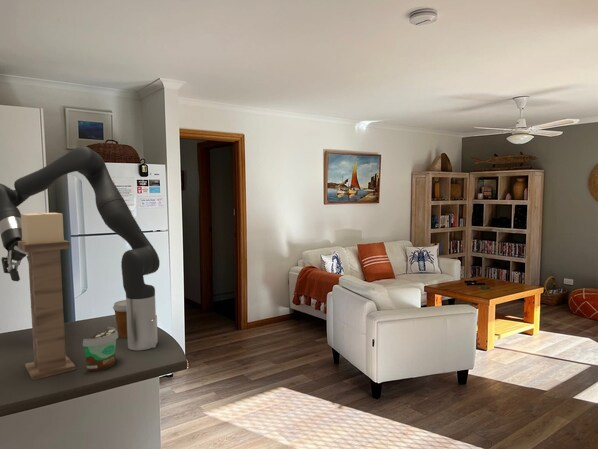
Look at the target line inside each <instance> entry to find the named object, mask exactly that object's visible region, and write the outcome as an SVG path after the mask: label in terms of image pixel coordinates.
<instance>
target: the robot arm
mask: <svg viewBox="0 0 598 449" xmlns="http://www.w3.org/2000/svg"><path fill="white" fill-rule="evenodd" d="M75 172H77V173H79V174H81V175H82V176H83V177H84V178H86V180H87V181H88V183H89V184H90V186H91V187H92V189H93V193H94V196H95V199H94V200H95V205H96V209H97V211H98V213H99V215H100V217H101V219H102V220H103V223H104V224H105V225H106V226H107V227H108V228H109V229H110V230H111V231H112V232H114V233H115V234H117V236H119V237H120V238H122V239H123V240H124V241H126V242H127V243H128V245H129V246H130V248H131V249H128V250H126V251H125V252H124V253H123V254H122V255H121V256H122V258H121V260H120V261H121V262H120V263H121V266H120V267H121V276H122V287H123V290H124V293H125V300H126V310H127V336H128V337H127V348H128V349H129V350H130V351H145V350H149V349H155V348H157V344H158V342H159V340H158V315H157V314H156V311H157V310H156V307H157V306H156V287H155V286H153V285H151V284H147V283H145V280H144V278H145V277H144V276H147V275H150V274H151V275H152V274H154V273H156V272H157V271H158V270H159V268H160V263H161V262H160V257H159V255H158V253H157V251H156V249H155V248H154V246H153V245H152V243H151V242H150V241H149V239H148V237H147V236H146V235H145V234H144V232H143V230H142V229H141V227H140V226H139V224H138V222H137V221H136V218H135V217H134V216H133V214H132V211H131V210H130V208H129V206H128V204H127V202H126V201H125V199H124V197H123V196H122V194H121V192H120V191H119V189H118V188H117V186H116V184H115V182H114V181H113V179H112V177H111V174H110V172H109V170H108V167H107V165H106V163H105V161H104V158H103V157H102V155H100V154H99V153H97V152H96V151H94V150H93V149H91V148H90V147H88V146H85V145H84V146H83V145H82V146H80V145H79V146H78V147H75V148H73V149H72V150H70V151H68V152H66V153H65V154H63V155H62V156H60V157H58V158H57V159H56V160H54V161H53V162H52V161H51V163H49V164H47V165H45V166H44V167H41V169H38V170H36V171H34V172H32V173H29V174H27V175H25V176H24V175H23V176H22V177H19V178H18V179H16V180H15V181H14V183H13V187H14V189H11V187H9V186H7V185H5V184H2V183H0V238H1V243H2V246H3V248H4V249H5V250H6V252H7V255H6V256H5V257H4V256H2V257H1V259H0V260H1V264H2V270H3V273H4V274H8V275H10V278H11V281H13V282H19V281H20V280H21V278H20V275H19V270H18V269H19V266H20V265H21V262H22V260H23V259H24V258H25V257H26V259H27V261H28V252H24V251H22V250H21V249H19V248H18V241H22V227H21V214H22V213H21V211H20V209H19V208H18V207H19V206H21V204H23V203H24V202H25V201H27V200H28V199H29V198H30V197H32V196H35V195H37V194H39V193H41V192H42V193H43V192H44V191H46V190H47V189H49V188H51V187H52V185H53V184H54V183H55V182H56V181H57V180H58V179H60V178H61V177H63V176H65V175H68V174H70V173H71V174H72V173H75ZM14 261H15V262H14ZM13 266H14V267H13Z"/></svg>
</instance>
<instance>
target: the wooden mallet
mask: <svg viewBox="0 0 598 449" xmlns="http://www.w3.org/2000/svg"><path fill="white" fill-rule="evenodd" d="M63 215H64V214H63V213H60V212H59V213H58V212H36V213H34V212H33V213H21V227H22V241H23V242H25V243H27V244H36V243H49V242H62V241H64V240H65V237H64V219H63Z"/></svg>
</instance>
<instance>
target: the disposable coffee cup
mask: <svg viewBox="0 0 598 449" xmlns="http://www.w3.org/2000/svg"><path fill="white" fill-rule="evenodd" d="M112 309H113V311H114V315H115V320H116V327H117V333H118V338H119V337H120V338H125V339H128V336H127V310H126V299H122V300H117V301H116V302H114V304H113V306H112Z"/></svg>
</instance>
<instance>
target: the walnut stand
mask: <svg viewBox="0 0 598 449" xmlns="http://www.w3.org/2000/svg"><path fill="white" fill-rule="evenodd" d="M70 245H71V244H70V241H69V240H65V239H64V241H62V242H49V243H36V244H27V243H25V242H23V241H18V248H19V249H21V250H22V251H24V252H28V255H27V256H28V260H27V262H28V263H27V264H28V276H29V277H28V279H29V293H30V312H31V326H32V327H31V329H32V344H33V345H32V346H33V348H32V350H33V361H31V362H26V363H24V367H25V369H26V371H27V373H28V374H29V376H30V378H31V379H32V381H34V380H39V379H43V378H47V377H50V376H55V375H59V374H64V373H66V372H71V371H75V370H76V369H77V367H76V365H75V363H74V362H73V361H72V360H71V359H70V358H69V357H68V356H67V355H66V340H65V338H66V336H65V335H66V334H65V319H64V316H65V314H64V301H63V300H64V299H63V283H62V282H63V280H62V277H63V276H62V261H61V260H62V258H61V250H68V249H69V250H70V249H71V246H70Z"/></svg>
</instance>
